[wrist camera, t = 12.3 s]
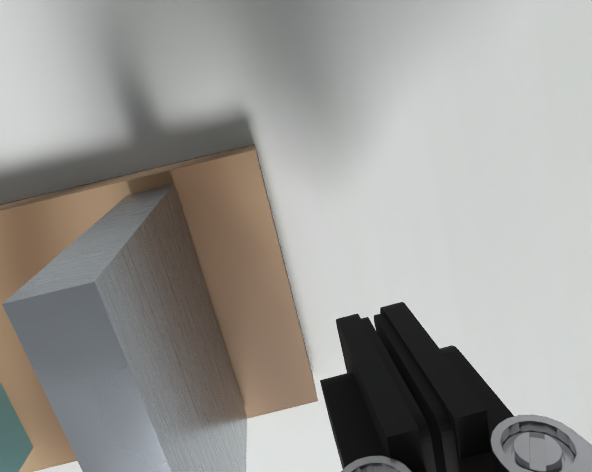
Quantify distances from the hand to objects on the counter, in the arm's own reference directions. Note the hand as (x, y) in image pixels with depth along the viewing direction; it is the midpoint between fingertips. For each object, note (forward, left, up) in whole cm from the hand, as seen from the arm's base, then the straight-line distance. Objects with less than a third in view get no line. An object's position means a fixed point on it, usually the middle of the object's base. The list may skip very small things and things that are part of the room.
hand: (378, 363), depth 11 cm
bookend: (+5, 0, -5) cm, 7 cm away
